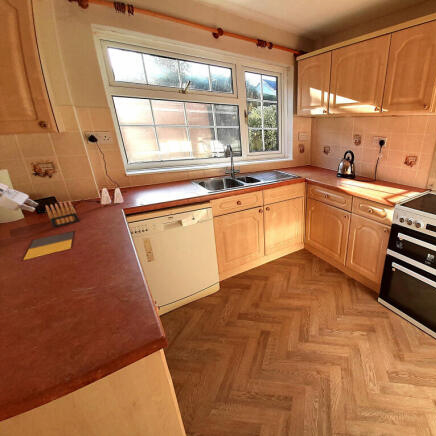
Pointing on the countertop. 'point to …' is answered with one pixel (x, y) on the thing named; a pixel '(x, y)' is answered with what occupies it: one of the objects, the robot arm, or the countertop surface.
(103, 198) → the shaker set
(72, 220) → the ammunition clip
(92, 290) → the countertop surface
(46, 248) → the sorting board
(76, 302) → the countertop surface
